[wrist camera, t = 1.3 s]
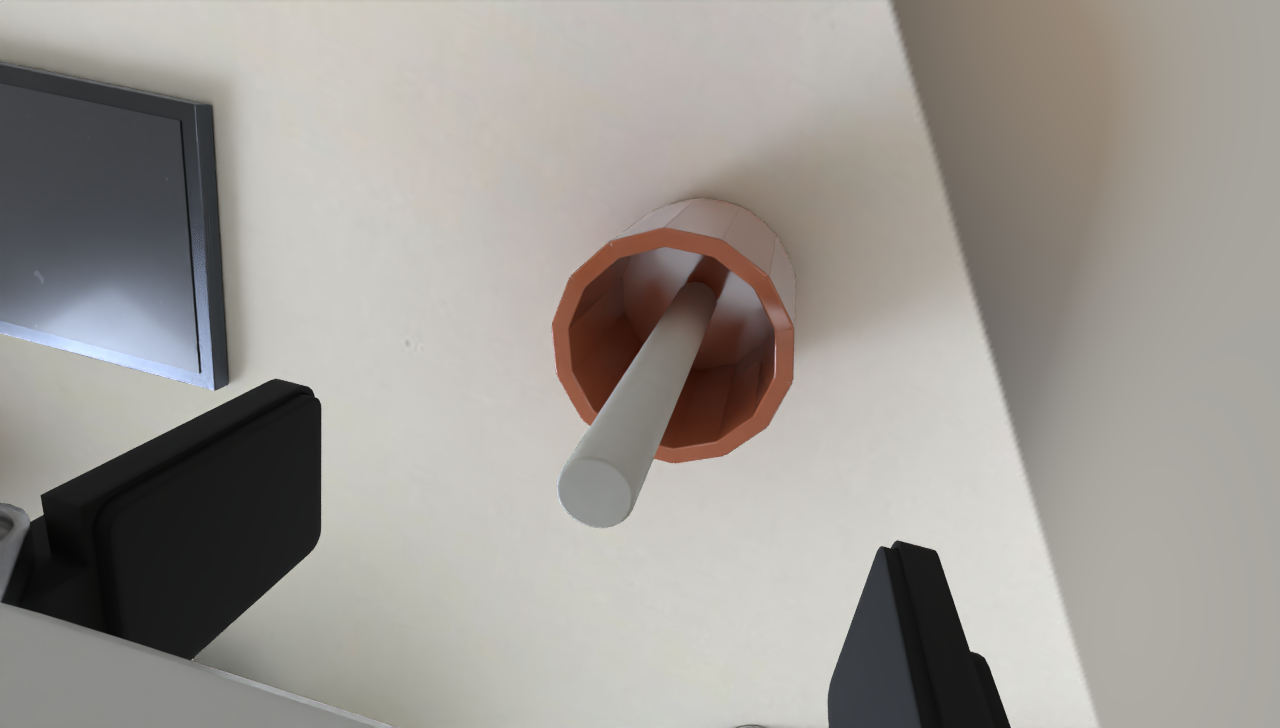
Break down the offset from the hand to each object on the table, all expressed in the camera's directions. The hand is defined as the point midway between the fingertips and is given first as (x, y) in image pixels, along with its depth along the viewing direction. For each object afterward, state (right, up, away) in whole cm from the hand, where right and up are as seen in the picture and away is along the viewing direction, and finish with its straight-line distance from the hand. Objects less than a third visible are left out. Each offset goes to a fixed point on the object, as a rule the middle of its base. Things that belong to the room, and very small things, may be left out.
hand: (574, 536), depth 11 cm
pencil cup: (+3, +5, +14) cm, 15 cm away
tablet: (-24, +9, +19) cm, 32 cm away
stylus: (+3, +5, +14) cm, 15 cm away
